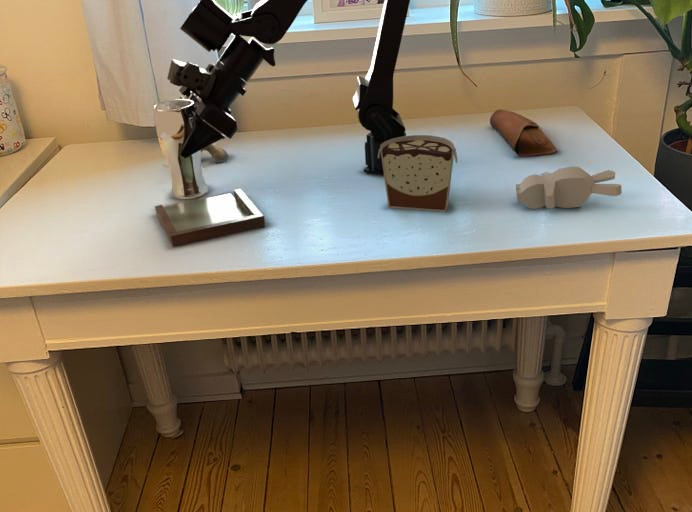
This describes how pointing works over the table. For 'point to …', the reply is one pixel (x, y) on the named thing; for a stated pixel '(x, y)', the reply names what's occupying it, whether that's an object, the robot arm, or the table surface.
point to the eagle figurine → (216, 152)
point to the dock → (209, 218)
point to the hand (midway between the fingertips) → (178, 150)
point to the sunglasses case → (521, 134)
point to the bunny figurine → (564, 188)
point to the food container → (418, 171)
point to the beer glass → (179, 147)
